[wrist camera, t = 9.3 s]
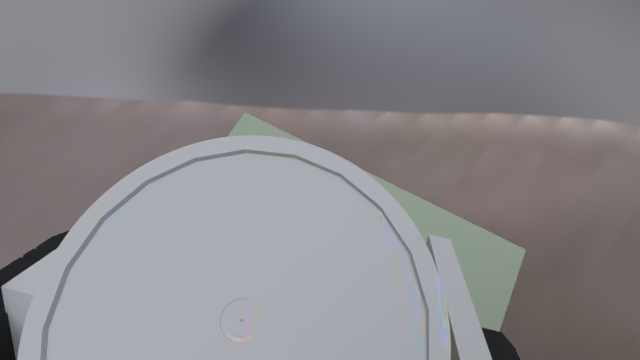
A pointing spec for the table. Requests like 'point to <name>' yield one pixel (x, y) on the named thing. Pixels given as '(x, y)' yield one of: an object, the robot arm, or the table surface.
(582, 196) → the table surface
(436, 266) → the robot arm
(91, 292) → the bottle
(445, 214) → the green-backed grey tray
